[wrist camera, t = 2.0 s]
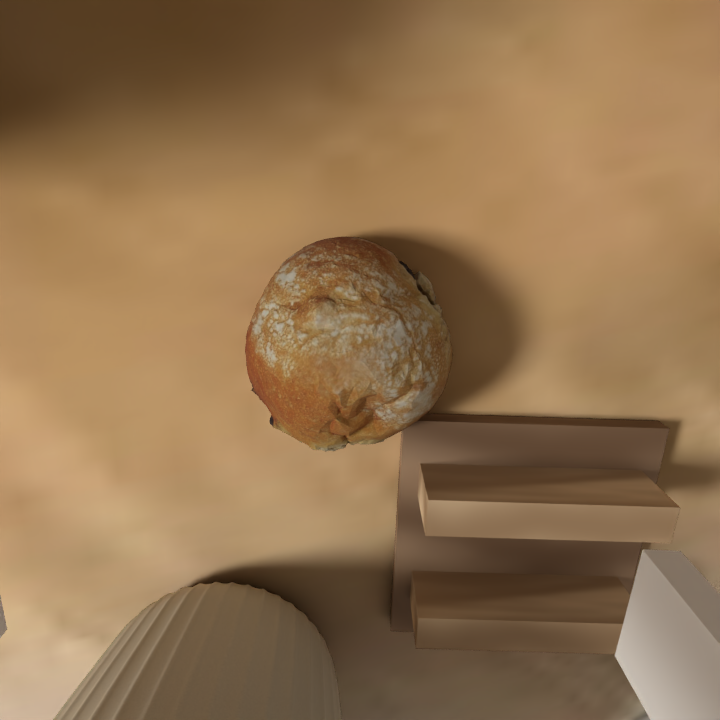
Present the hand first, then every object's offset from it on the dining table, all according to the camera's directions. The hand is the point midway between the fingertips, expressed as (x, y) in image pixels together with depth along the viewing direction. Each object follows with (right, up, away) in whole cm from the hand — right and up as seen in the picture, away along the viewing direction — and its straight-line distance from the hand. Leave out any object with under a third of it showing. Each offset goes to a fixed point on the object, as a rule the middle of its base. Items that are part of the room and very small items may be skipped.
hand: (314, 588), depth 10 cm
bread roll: (0, +6, +16) cm, 17 cm away
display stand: (+10, -5, +19) cm, 22 cm away
